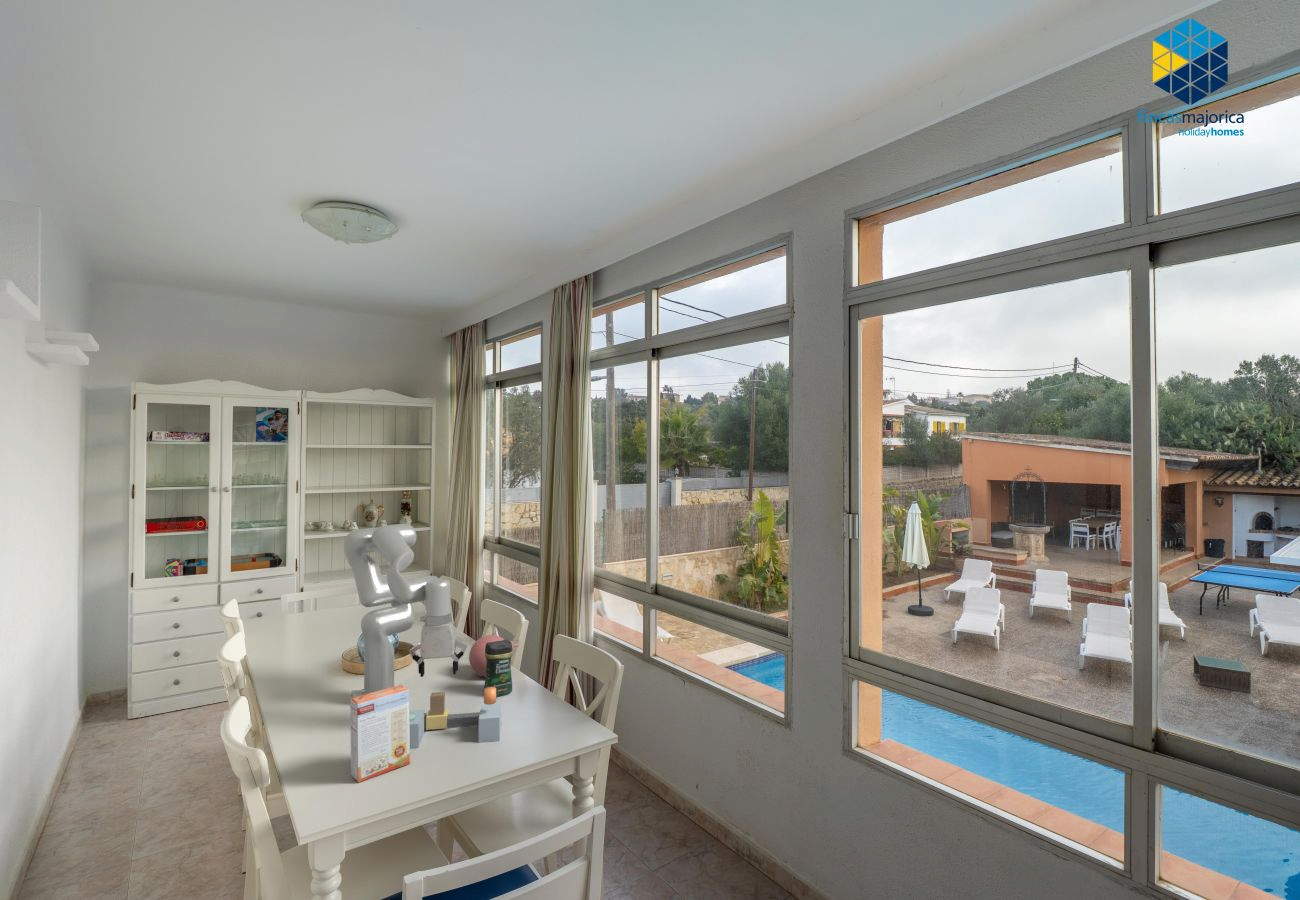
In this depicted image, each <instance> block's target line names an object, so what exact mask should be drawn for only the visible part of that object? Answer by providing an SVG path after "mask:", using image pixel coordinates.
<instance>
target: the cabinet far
mask: <svg viewBox="0 0 1300 900" xmlns="http://www.w3.org/2000/svg"><path fill="white" fill-rule="evenodd" d="M479 712H480V715H479V726H478V743H487V742H488V743H489V742H499V741H500V739H501V730H502V727H501V726H502V703H494V704H491V705H487V704H482V705H481V706H480V710H479Z"/></svg>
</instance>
